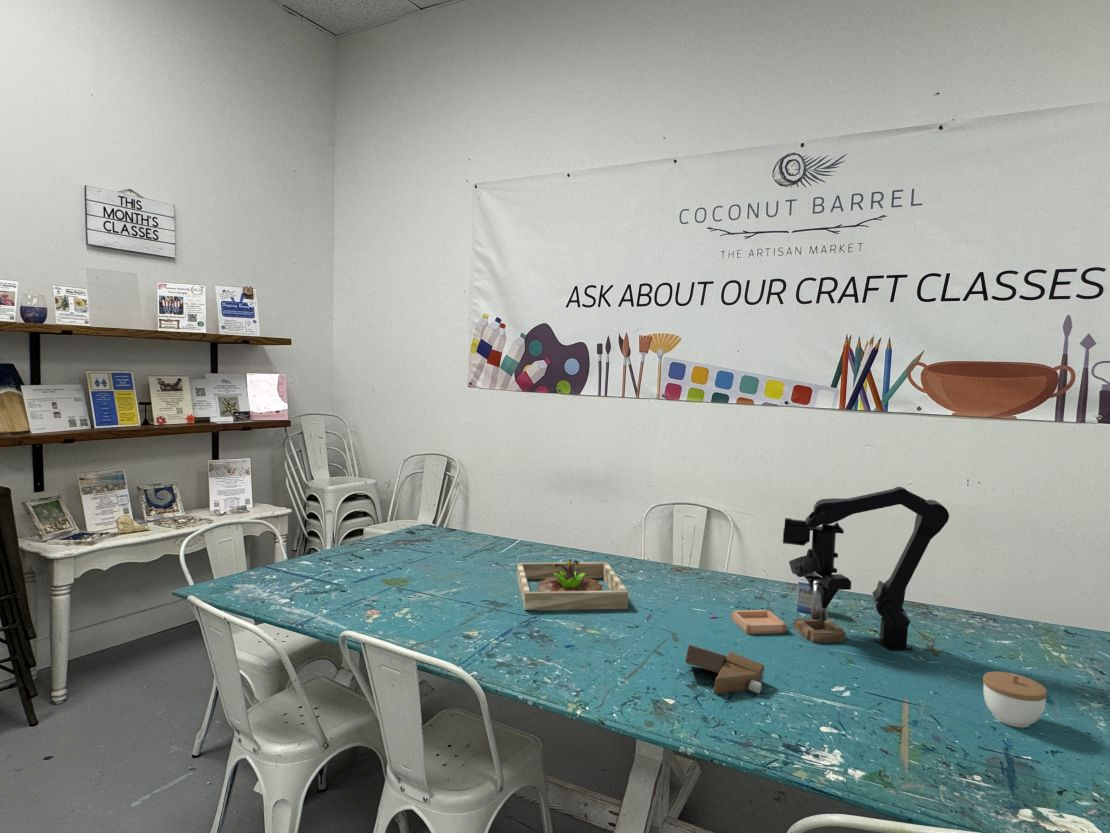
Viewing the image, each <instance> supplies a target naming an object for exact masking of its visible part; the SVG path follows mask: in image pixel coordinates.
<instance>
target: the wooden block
mask: <svg viewBox="0 0 1110 833" xmlns="http://www.w3.org/2000/svg"><path fill="white" fill-rule="evenodd" d="M684 662H685V664H688V665H691V666H694V667H698V668H701V669H705V670H708V671H711V672H713V673H716V674H718V675H717V676H716V677H715V681H714V687H713V692H712V693H713V694H714V695H718V694H727V693H734V692H735V693H736V692H742V691H748V690H749V691H751V692H753V693H755V694H760V693H761V691H762V688H763V687H762V686H763V684H762V683H761V682H762V680H763V676H764V670H765V665H764V664H762V663H761V662H757V661H755V660H753V659H750V658H748V657H745V656H743V655H740V654H737V653H736V652H732V651H729V653H728V654H727V655H725V654H722V653H718V652H715V651H713V650H709V649H706V648H702V647H699V646H695V645H692V644H689V645H688V646H687V651H686V655H685V660H684Z"/></svg>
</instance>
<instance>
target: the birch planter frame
mask: <svg viewBox="0 0 1110 833" xmlns="http://www.w3.org/2000/svg"><path fill="white" fill-rule="evenodd" d="M573 562H574V561H572V562H571V563H572V564H573ZM578 562H579V565H578V566H576V564H574V571H575V572H576V576H578V575H579V574H581V573H585V575H584V576H583V578H588V579H603V580H604V582H605V584H606V585H607V586H608V588H609V589H608V590H603V589H602V591H544V592H538V591H530V588H529V584H528V580H545V579H546V578H547V577H555V576H556V575H554V573H557V574H559V575H560V576H561V574H560V571H562V572H564V573H565V572H566V571H565V569H564V568H563V567H561V566H559V565H558V567H557V568H554V567H553V566H554V564H562V565H564V566H565V567H566V568H567V569H568V568H569V566H568V565H567V561H566V562H564V561H561V562H560V561H559V562H555V561H554V562H517V563H516V564H517V565H516V580H517V583H518V584H517V585H518V588H520V589H519V593H520V592H521V593H520V597H521V596H522V597H521V601H522V600H523V601H522V604H523V609H525V610H537V611H570V610H571V611H572V610H574V611H575V610H578V611H580V610H581V611H582V610H583V611H584V610H620V609H621V610H623V609H625V610H626V609H628V607H629V590H628V589H627V588H626V586H625V585H624V584H623V582H622V581H621V579H620V578H619V577H618V575H617V574H616V573H615V572H614V570H613V569H612V567H611V566H610V564H609V563H608V562H607V561H584V562H583V561H578ZM525 610H524V611H525Z"/></svg>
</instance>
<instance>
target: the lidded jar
mask: <svg viewBox="0 0 1110 833" xmlns="http://www.w3.org/2000/svg"><path fill="white" fill-rule="evenodd" d="M982 681H983V686H982V691H983V692H982V693H983V698H984V703H985V705H986V707H987V708H988V710H989V711H990V712H991V713H992V715H993V717H994V718H995V719H996V720H997V721H999V722H1001V723H1002V724H1004V725H1007V726H1010V727H1015V728H1029V727H1030V726H1031V725H1032V724H1034V723H1036V722H1038V720H1040V719H1041V717H1042V715H1043V712H1044V711H1045V706H1046V700H1047V695H1048V691H1047V689H1046V687H1045V686H1044V685H1042V684H1041V683H1040V682H1038V681H1035V680H1033V679H1032V678H1028V677H1026V676H1024V675H1020V674H1016V673H1011V672H1006V671H989V672H986V673H984V674H983V676H982Z"/></svg>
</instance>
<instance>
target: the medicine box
mask: <svg viewBox="0 0 1110 833" xmlns="http://www.w3.org/2000/svg"><path fill="white" fill-rule="evenodd" d="M796 592H797V594H796V604H795V605H796V607H795V609H796V611H797V612H802V613H806V612H807V613H808V614H811V609H812V594H811V590H810V586H809V583H808V580H807V579H805V578H804V579H802V578H799V580H798V581H797V591H796Z"/></svg>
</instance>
